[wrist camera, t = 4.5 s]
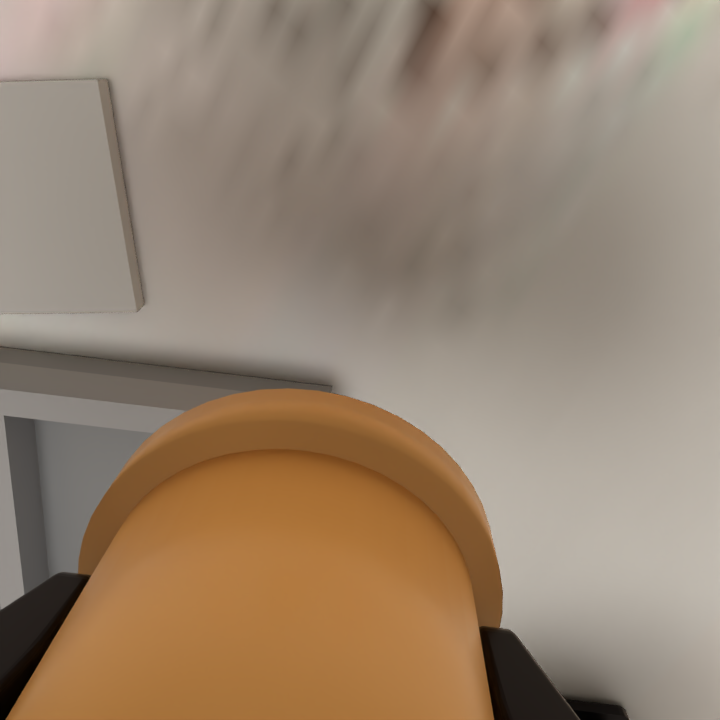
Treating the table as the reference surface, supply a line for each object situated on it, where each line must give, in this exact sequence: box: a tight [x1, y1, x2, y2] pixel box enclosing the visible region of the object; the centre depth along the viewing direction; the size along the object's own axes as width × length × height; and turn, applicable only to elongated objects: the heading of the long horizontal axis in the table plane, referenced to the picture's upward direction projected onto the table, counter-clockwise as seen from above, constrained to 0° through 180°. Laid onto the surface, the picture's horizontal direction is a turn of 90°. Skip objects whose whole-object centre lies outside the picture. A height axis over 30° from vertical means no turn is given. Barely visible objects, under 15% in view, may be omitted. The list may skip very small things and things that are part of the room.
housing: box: [0, 347, 332, 610], centre depth 20 cm, size 18×10×2 cm, turn 83°
